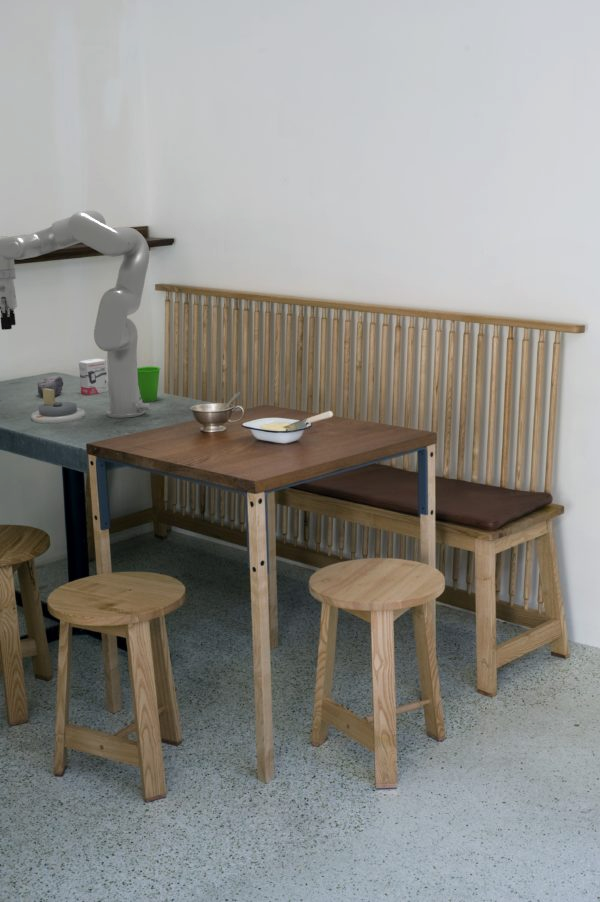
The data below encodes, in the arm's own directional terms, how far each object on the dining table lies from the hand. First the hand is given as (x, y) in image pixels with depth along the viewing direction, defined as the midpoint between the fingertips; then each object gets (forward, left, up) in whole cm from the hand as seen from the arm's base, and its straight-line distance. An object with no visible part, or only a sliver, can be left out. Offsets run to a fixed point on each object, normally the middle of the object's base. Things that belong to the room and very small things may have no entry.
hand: (8, 327), depth 362 cm
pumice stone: (+1, -25, -28) cm, 38 cm away
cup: (-38, -23, -28) cm, 53 cm away
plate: (-19, +7, -28) cm, 35 cm away
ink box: (-13, -32, -28) cm, 45 cm away
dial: (-19, +7, -26) cm, 33 cm away
